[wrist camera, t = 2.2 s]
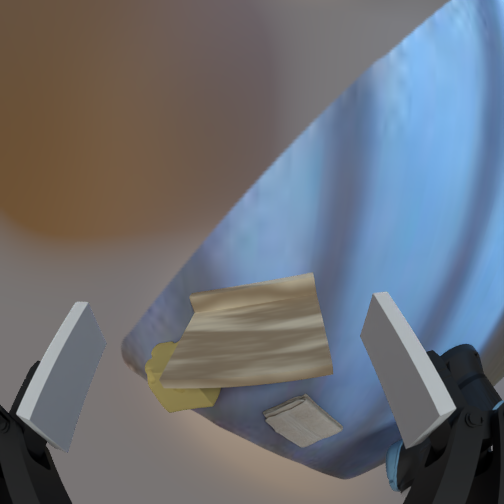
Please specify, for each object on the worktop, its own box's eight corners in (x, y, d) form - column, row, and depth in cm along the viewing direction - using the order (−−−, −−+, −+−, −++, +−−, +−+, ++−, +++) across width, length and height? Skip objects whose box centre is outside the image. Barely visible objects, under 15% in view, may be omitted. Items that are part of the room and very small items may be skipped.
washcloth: (303, 389, 51) (304, 400, 48) (344, 424, 54) (346, 433, 51) (259, 410, 54) (258, 420, 51) (303, 441, 57) (304, 450, 54)
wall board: (324, 353, 47) (336, 432, 30) (219, 367, 50) (197, 440, 33) (312, 272, 42) (330, 342, 25) (191, 293, 45) (148, 361, 28)
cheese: (156, 342, 50) (135, 375, 41) (202, 330, 48) (186, 366, 38) (182, 380, 53) (168, 414, 43) (227, 371, 50) (217, 408, 41)
